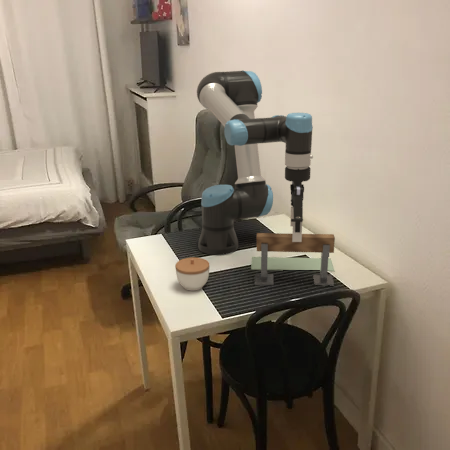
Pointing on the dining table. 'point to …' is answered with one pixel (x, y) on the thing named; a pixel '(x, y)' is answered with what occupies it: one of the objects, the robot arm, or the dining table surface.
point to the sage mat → (290, 263)
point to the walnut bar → (285, 244)
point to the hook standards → (318, 279)
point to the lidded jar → (192, 273)
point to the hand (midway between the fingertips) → (295, 233)
